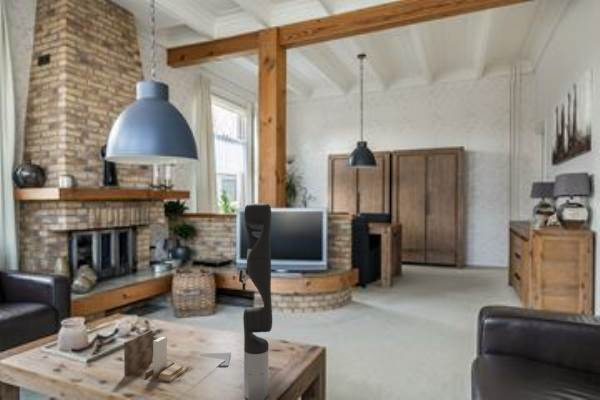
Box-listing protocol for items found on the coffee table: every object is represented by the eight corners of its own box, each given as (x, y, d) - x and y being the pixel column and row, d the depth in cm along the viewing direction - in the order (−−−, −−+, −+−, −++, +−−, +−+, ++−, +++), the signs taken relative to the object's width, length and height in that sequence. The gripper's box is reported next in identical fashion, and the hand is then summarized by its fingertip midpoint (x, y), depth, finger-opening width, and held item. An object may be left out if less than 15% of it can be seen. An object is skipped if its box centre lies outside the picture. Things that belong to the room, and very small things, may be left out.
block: (161, 368, 174) (161, 336, 174) (166, 369, 173) (166, 337, 173) (153, 374, 169) (153, 340, 169) (158, 375, 168) (158, 341, 168)
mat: (228, 366, 178) (228, 365, 178) (195, 367, 177) (195, 366, 177) (230, 354, 192) (230, 352, 192) (200, 355, 191) (200, 353, 191)
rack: (150, 362, 182) (150, 329, 182) (194, 370, 175) (194, 335, 175) (124, 378, 167) (124, 342, 167) (171, 387, 160) (170, 349, 159)
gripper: (239, 258, 194) (237, 292, 193) (269, 259, 195) (267, 293, 194) (240, 256, 201) (239, 289, 201) (269, 257, 202) (268, 290, 202)
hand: (253, 291), depth 198 cm, fingers open, 8 cm apart
